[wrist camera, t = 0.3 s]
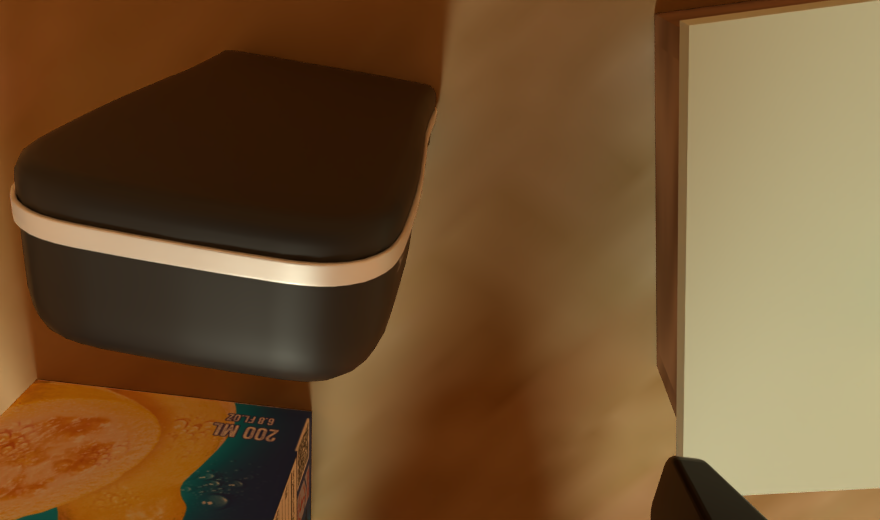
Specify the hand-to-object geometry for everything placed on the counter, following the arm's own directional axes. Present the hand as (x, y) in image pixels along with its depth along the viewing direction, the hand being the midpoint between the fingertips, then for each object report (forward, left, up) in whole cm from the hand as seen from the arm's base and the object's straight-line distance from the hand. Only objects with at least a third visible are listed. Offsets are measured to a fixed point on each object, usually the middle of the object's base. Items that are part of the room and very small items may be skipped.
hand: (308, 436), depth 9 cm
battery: (+1, +3, -14) cm, 15 cm away
